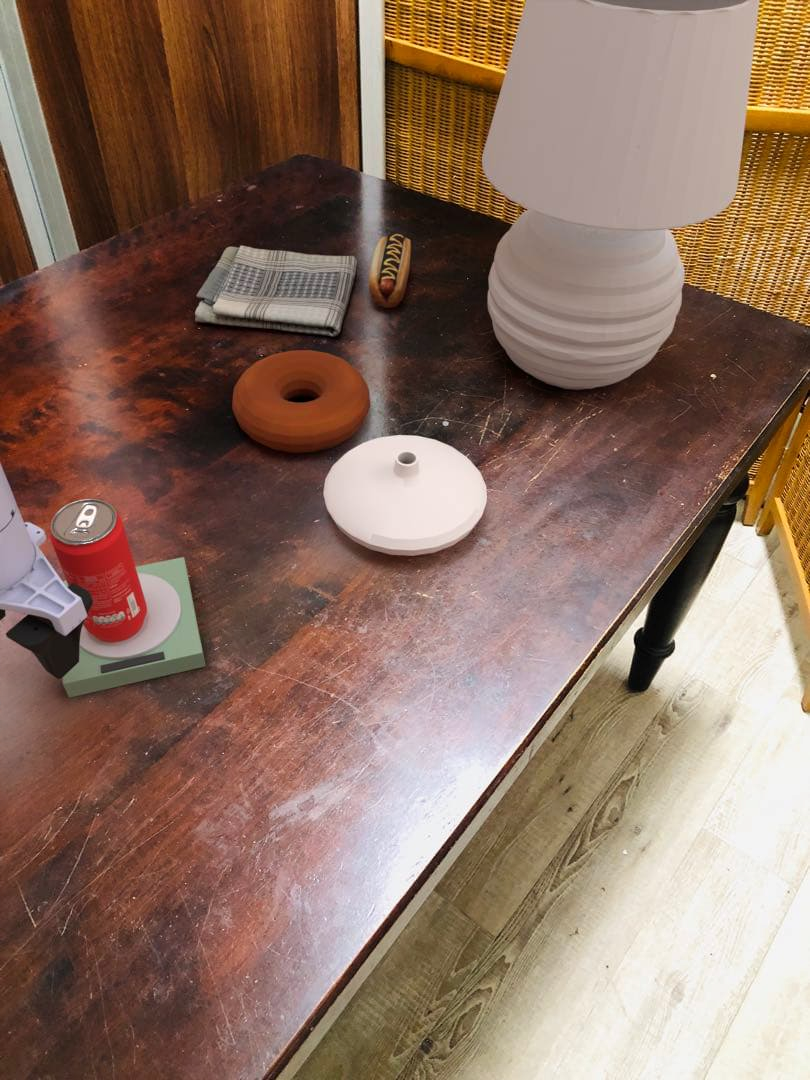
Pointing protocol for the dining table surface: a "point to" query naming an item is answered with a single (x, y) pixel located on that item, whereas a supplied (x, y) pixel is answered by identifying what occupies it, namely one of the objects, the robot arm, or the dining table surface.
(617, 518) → the dining table surface
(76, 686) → the scale
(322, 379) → the donut
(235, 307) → the dish towel
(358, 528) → the vase
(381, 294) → the hot dog
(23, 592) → the robot arm
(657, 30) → the table lamp
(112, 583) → the beverage can
